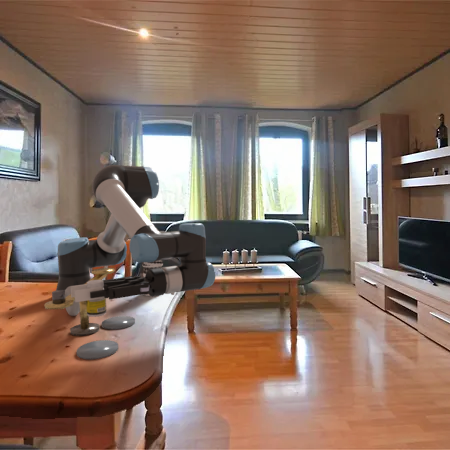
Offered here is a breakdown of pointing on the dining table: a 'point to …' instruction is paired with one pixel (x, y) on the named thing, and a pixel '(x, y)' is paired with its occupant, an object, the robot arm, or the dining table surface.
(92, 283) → the supplement bottle
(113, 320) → the glossy grey puck
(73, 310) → the donut
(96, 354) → the dish low
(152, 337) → the dining table surface
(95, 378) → the dining table surface
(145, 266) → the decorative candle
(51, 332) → the dining table surface
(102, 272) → the balance
